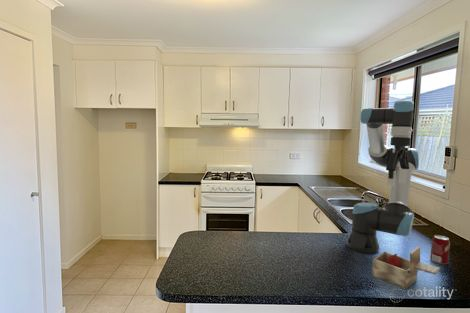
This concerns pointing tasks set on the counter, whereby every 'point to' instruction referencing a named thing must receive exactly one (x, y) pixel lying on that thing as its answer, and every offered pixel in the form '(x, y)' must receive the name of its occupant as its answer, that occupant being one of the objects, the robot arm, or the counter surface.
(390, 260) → the onion
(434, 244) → the soda can
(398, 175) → the robot arm
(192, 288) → the counter surface
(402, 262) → the wooden box
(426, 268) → the lid
